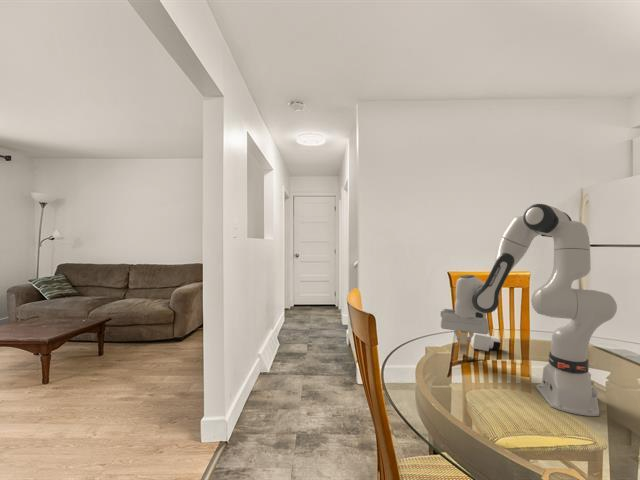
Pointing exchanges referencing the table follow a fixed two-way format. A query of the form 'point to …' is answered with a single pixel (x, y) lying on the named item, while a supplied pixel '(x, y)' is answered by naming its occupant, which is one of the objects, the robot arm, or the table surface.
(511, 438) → the table surface
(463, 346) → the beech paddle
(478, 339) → the medicine bottle
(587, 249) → the robot arm
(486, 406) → the table surface
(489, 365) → the table surface
